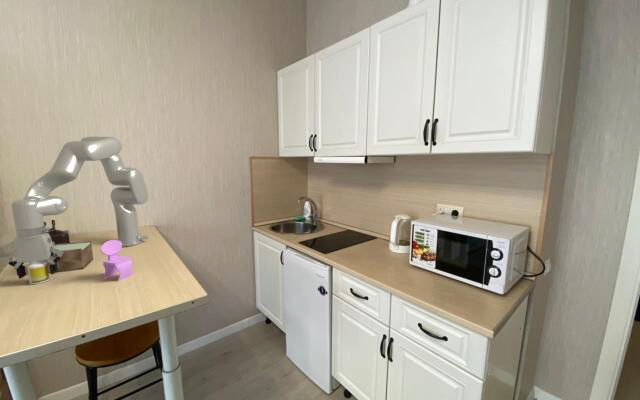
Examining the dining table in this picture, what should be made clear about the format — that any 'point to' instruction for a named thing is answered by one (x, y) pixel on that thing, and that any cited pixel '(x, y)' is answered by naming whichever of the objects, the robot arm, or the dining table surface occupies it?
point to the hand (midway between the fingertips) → (38, 274)
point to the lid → (71, 246)
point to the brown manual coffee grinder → (58, 234)
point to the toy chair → (116, 260)
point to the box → (73, 258)
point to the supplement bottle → (38, 272)
